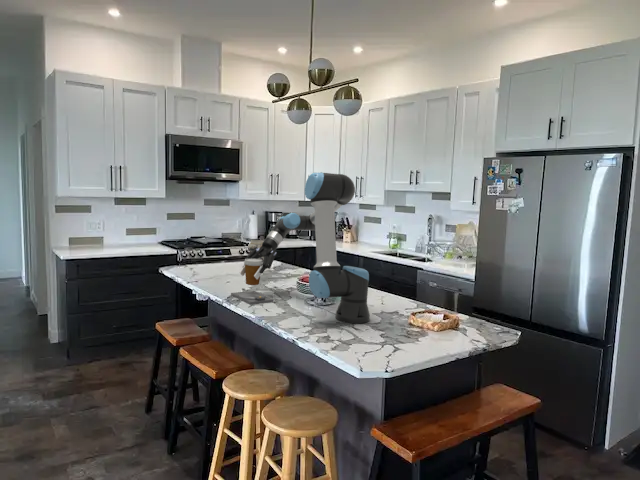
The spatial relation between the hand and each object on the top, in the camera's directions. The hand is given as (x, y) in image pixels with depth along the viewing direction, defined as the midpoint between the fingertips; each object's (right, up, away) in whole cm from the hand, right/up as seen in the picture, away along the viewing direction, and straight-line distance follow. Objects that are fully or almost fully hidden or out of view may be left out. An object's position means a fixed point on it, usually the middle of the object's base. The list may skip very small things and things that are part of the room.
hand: (248, 275), depth 236 cm
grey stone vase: (-8, -1, +91) cm, 91 cm away
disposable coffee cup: (+2, -4, +3) cm, 6 cm away
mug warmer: (+1, -11, +4) cm, 12 cm away
